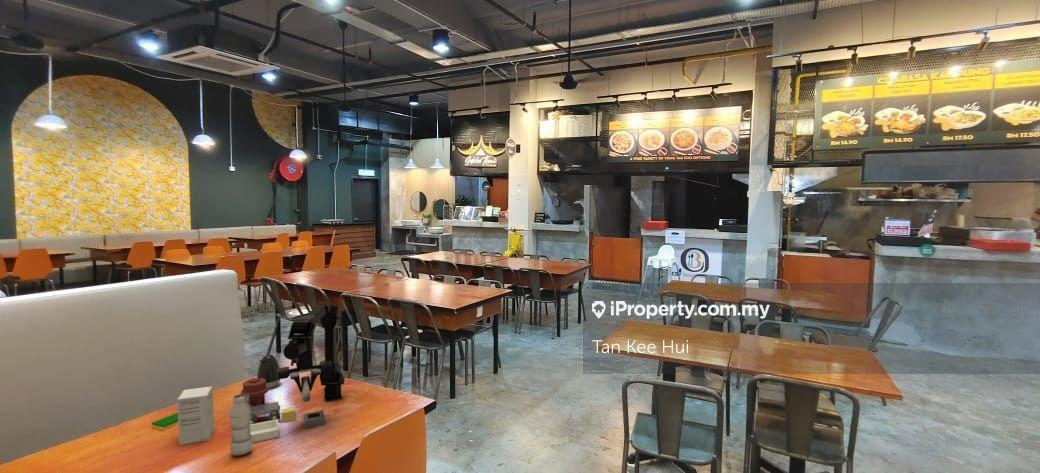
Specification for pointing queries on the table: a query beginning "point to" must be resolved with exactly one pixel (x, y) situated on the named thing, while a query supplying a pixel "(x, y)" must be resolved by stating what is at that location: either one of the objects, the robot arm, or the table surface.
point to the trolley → (264, 411)
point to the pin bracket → (314, 419)
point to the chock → (288, 414)
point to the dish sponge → (166, 422)
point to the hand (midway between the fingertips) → (305, 391)
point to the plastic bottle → (240, 426)
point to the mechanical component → (255, 391)
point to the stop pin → (305, 388)
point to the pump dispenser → (269, 370)
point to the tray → (264, 431)
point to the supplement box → (195, 415)
